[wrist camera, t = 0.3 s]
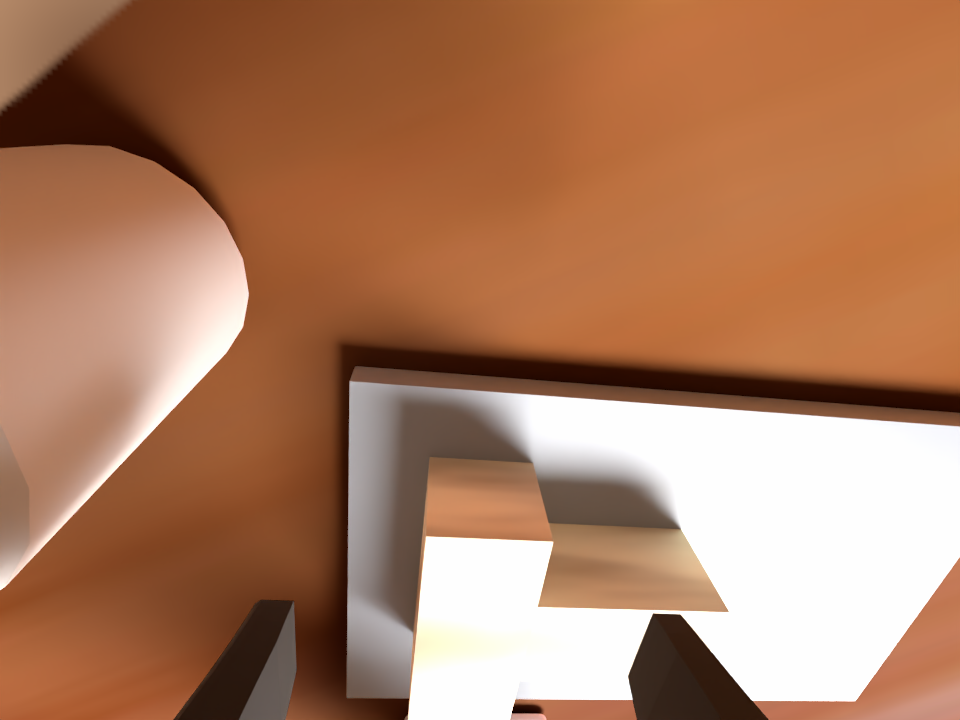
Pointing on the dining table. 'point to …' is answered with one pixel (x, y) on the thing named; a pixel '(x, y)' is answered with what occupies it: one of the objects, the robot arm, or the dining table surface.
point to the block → (535, 593)
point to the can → (98, 322)
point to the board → (672, 513)
